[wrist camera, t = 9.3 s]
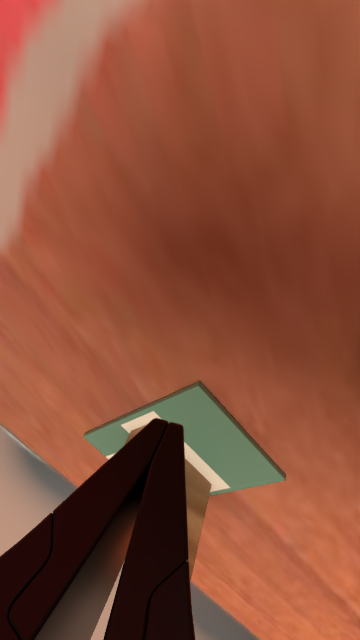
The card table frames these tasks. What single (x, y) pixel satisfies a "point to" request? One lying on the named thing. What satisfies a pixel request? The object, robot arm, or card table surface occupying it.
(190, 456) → the board
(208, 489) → the oak t block
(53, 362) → the card table surface
